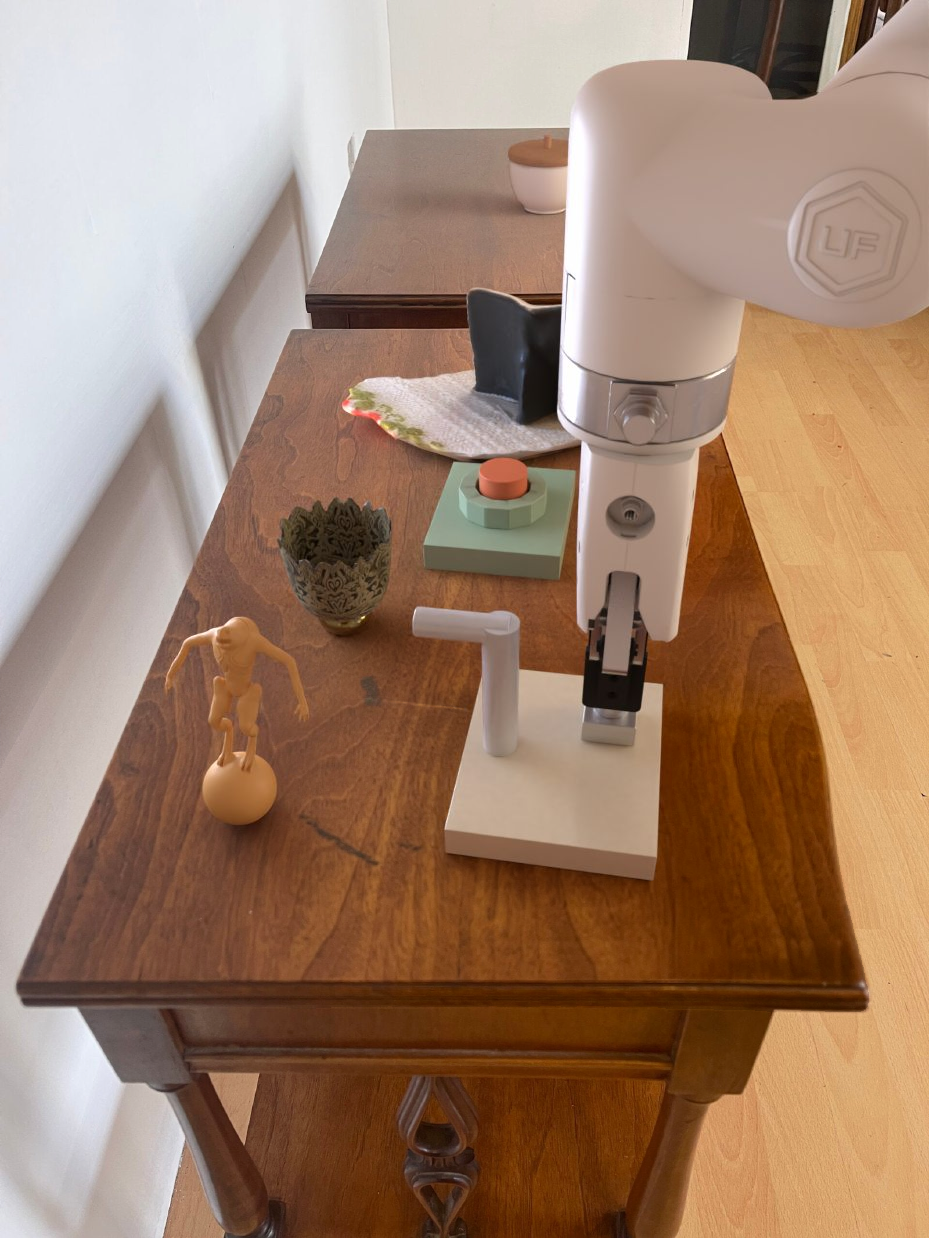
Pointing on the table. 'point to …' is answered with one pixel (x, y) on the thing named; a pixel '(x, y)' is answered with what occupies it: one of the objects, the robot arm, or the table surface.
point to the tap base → (546, 764)
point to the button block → (501, 525)
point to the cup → (338, 561)
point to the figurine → (239, 779)
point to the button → (503, 479)
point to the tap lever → (609, 723)
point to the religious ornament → (481, 389)
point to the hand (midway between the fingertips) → (613, 686)
